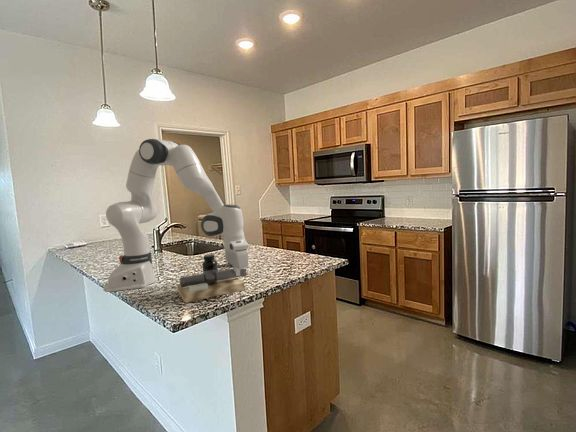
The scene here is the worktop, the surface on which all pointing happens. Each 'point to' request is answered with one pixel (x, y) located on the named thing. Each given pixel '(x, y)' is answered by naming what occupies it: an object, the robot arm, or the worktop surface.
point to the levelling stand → (210, 289)
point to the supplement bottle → (209, 263)
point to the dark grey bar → (210, 277)
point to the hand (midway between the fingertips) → (237, 275)
